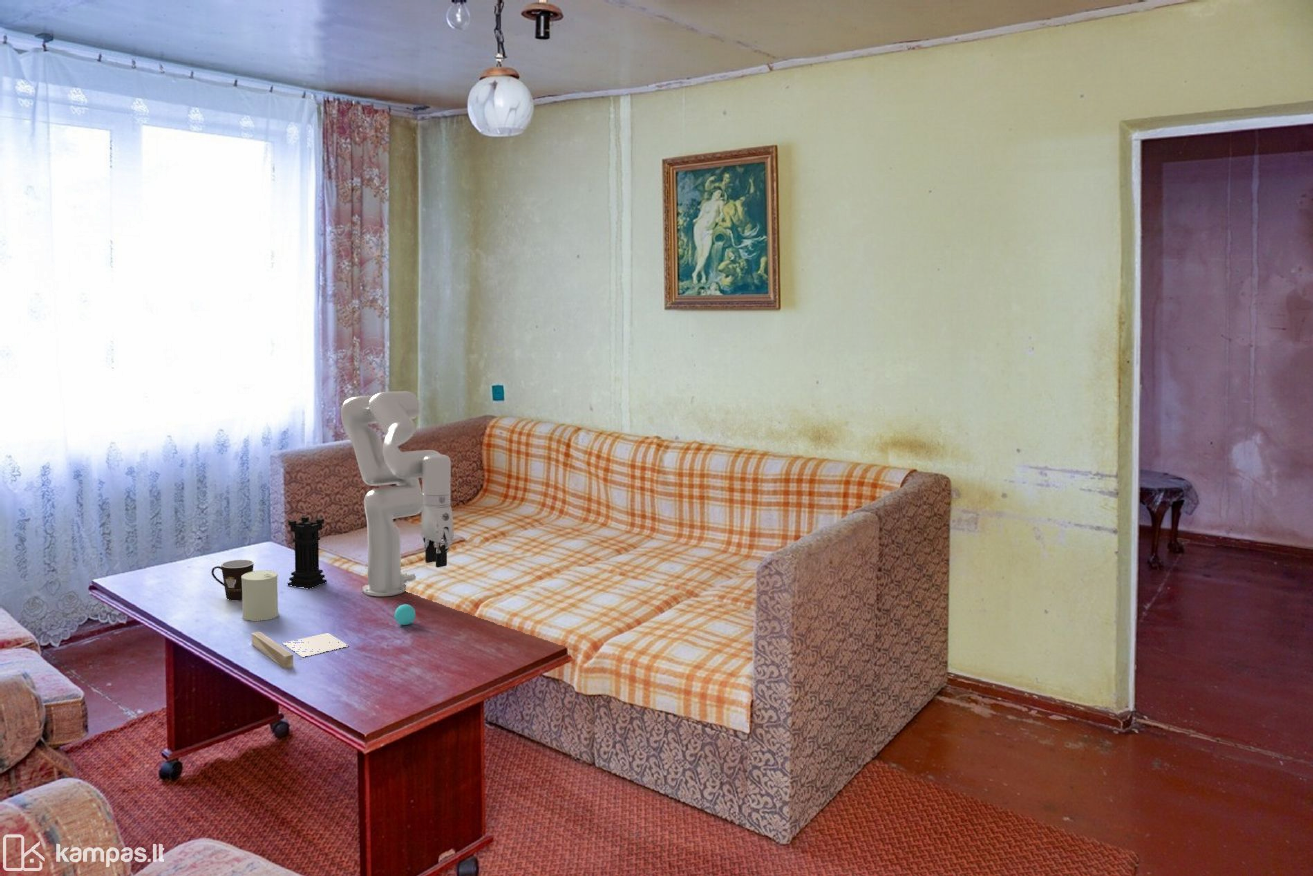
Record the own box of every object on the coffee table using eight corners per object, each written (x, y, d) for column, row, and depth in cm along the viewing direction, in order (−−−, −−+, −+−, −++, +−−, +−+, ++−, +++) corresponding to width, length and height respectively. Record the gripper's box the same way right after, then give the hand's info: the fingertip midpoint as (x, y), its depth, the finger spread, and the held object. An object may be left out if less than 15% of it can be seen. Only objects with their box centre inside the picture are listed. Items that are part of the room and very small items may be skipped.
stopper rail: (259, 643, 235) (259, 631, 234) (293, 666, 221) (293, 654, 220) (251, 644, 233) (251, 633, 233) (284, 668, 219) (284, 656, 219)
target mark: (327, 633, 243) (327, 632, 243) (349, 646, 234) (349, 645, 234) (282, 643, 235) (282, 643, 235) (302, 657, 226) (302, 657, 226)
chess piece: (326, 582, 286) (326, 518, 283) (309, 589, 279) (308, 524, 276) (305, 578, 289) (304, 516, 286) (287, 585, 281) (286, 521, 278)
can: (265, 623, 249) (264, 579, 247) (234, 619, 251) (233, 576, 249) (285, 612, 258) (284, 570, 256) (255, 609, 260) (254, 567, 258)
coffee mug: (260, 596, 270) (260, 563, 269) (233, 603, 263) (232, 569, 262) (236, 588, 276) (236, 556, 275) (209, 595, 269) (208, 562, 268)
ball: (408, 619, 256) (408, 600, 255) (419, 625, 252) (419, 605, 251) (390, 623, 252) (390, 604, 251) (400, 629, 248) (400, 609, 247)
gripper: (465, 503, 250) (464, 569, 253) (432, 493, 262) (431, 555, 265) (440, 507, 245) (440, 573, 248) (408, 496, 257) (408, 559, 260)
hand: (436, 563), depth 256 cm, fingers open, 4 cm apart
